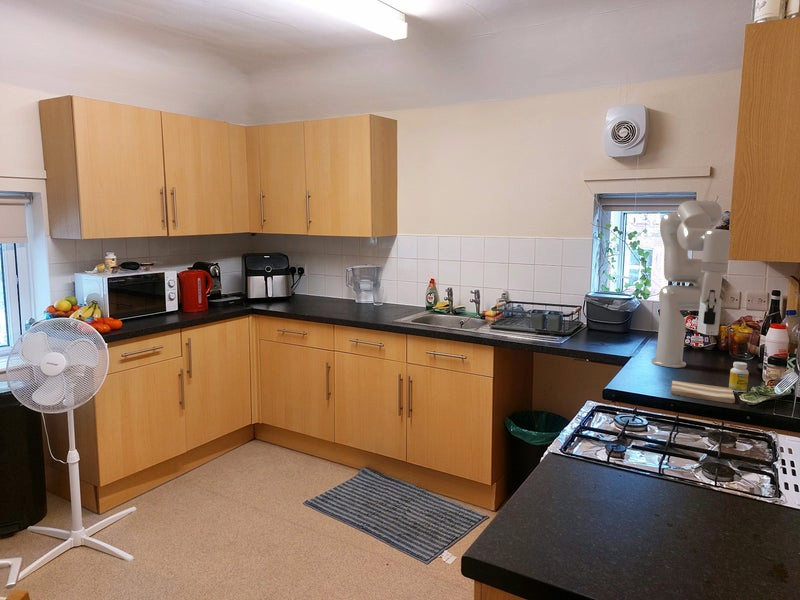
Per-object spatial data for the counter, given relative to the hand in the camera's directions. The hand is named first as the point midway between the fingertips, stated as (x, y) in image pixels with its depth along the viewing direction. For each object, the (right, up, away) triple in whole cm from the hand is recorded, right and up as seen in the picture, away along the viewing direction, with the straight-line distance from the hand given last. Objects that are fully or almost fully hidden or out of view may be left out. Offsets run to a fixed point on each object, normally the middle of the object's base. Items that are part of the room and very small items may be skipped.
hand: (708, 322), depth 192 cm
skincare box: (0, -4, +1) cm, 4 cm away
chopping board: (-2, -24, +1) cm, 24 cm away
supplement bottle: (+13, -24, +6) cm, 28 cm away
